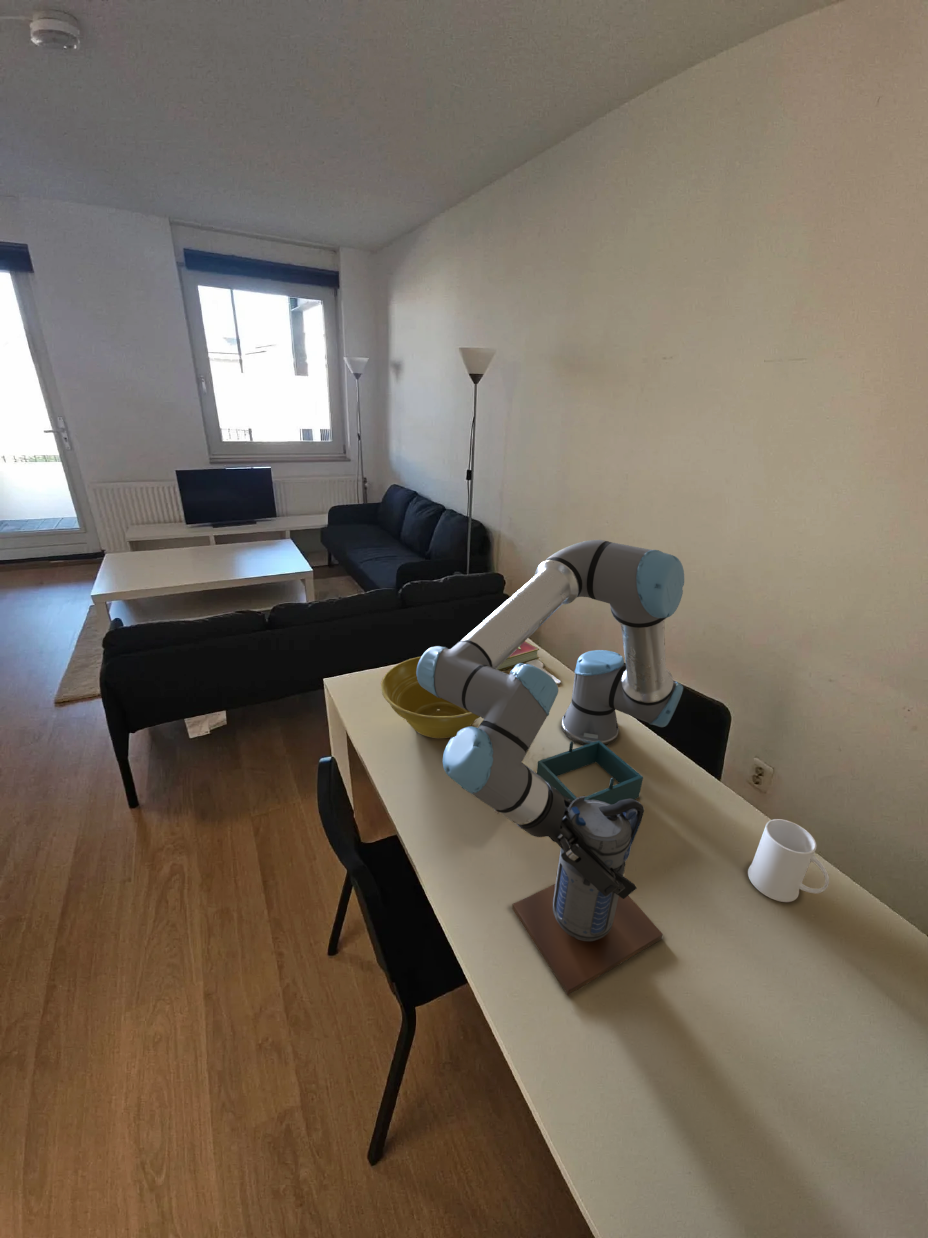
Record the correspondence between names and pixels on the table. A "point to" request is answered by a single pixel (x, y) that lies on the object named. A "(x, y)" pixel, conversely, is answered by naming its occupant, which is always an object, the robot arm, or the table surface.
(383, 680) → the planter bowl
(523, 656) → the hardcover book
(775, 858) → the mug
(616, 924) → the walnut board
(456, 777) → the robot arm
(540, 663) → the spoon
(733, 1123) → the table surface
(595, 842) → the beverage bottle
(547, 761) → the teal open box
